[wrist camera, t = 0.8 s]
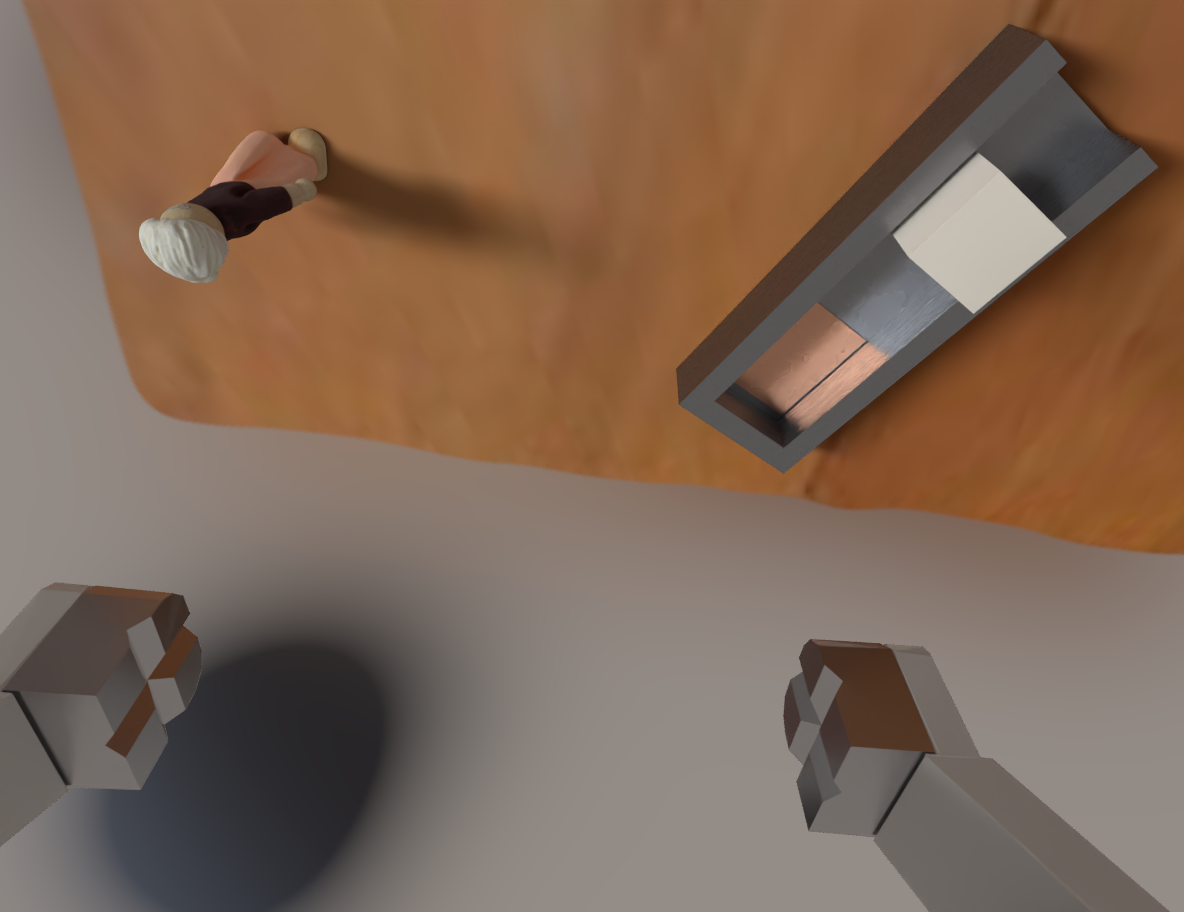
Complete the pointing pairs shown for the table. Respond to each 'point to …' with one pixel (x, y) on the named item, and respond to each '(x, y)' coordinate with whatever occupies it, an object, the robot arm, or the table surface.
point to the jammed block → (976, 233)
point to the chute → (899, 256)
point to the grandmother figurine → (235, 203)
